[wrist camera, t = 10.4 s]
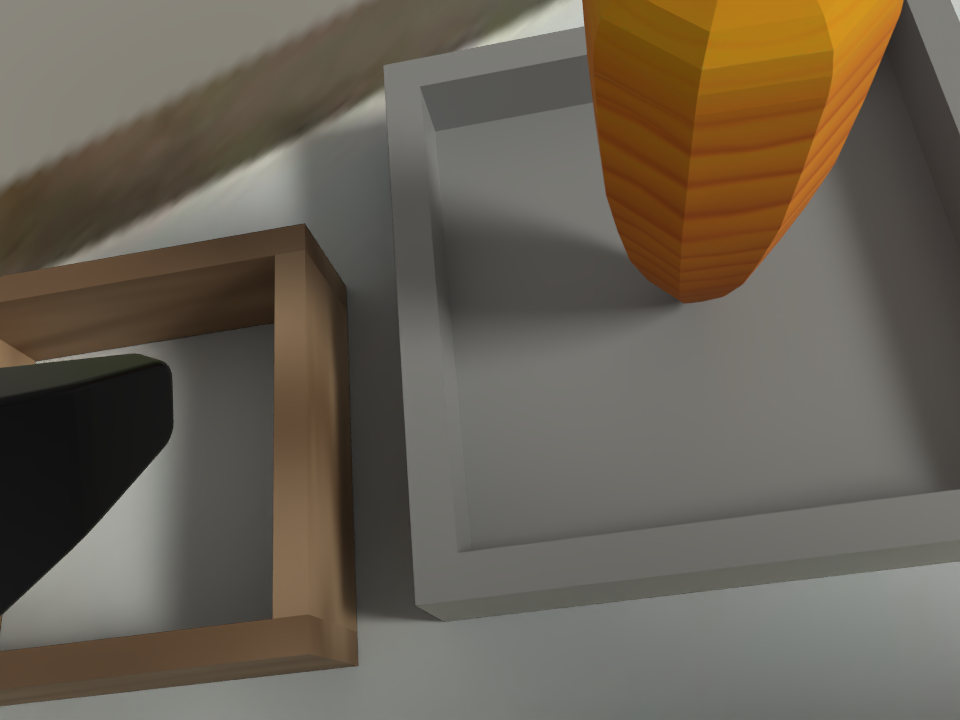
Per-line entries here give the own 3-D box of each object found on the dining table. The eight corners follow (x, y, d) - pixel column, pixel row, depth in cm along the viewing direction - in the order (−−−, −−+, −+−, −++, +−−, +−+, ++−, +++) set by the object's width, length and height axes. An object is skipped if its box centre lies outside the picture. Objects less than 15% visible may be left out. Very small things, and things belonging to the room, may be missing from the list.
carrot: (719, 182, 24) (848, -570, 10) (829, 323, 22) (1177, -392, 8) (559, 263, 23) (473, -401, 10) (654, 414, 21) (711, -170, 8)
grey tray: (1093, 545, 20) (1167, 514, 17) (443, 621, 21) (415, 605, 19) (901, 40, 26) (932, -42, 23) (408, 131, 27) (383, 65, 25)
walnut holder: (358, 665, 21) (308, 653, 18) (-39, 710, 22) (-150, 706, 19) (346, 286, 26) (305, 223, 22) (14, 341, 27) (-70, 288, 24)
